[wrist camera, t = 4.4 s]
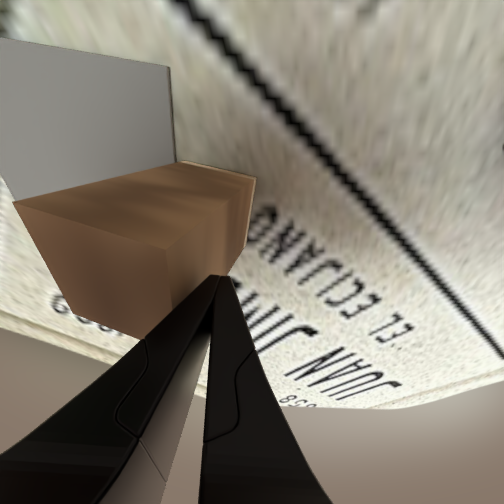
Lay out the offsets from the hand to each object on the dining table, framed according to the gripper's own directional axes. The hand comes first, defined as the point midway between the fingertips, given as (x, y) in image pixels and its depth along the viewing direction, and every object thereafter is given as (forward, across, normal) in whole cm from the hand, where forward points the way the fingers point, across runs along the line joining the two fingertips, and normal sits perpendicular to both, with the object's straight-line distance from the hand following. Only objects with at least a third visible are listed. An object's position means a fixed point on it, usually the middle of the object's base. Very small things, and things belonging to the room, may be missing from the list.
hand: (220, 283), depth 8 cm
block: (+8, +1, 0) cm, 8 cm away
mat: (+8, +10, 0) cm, 13 cm away
